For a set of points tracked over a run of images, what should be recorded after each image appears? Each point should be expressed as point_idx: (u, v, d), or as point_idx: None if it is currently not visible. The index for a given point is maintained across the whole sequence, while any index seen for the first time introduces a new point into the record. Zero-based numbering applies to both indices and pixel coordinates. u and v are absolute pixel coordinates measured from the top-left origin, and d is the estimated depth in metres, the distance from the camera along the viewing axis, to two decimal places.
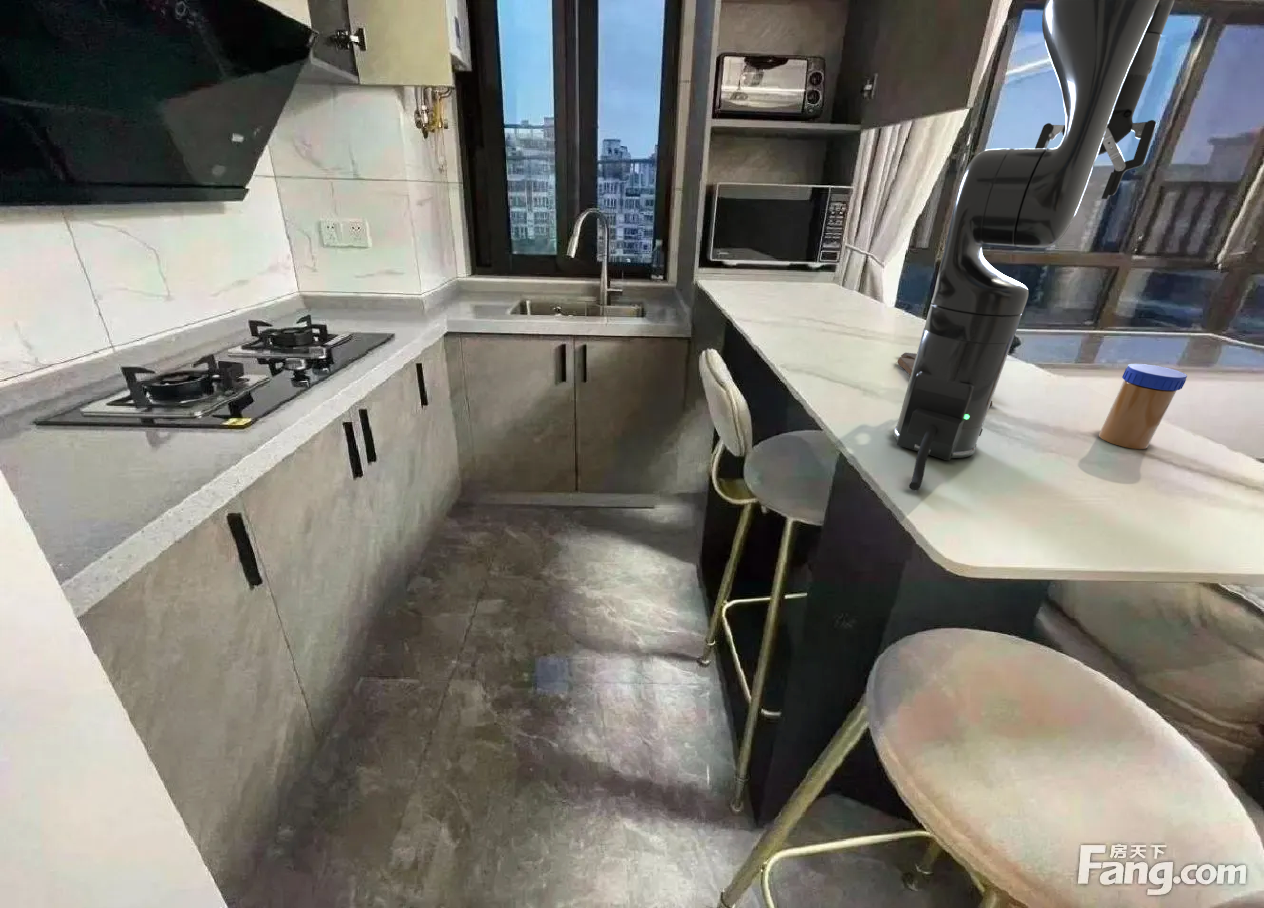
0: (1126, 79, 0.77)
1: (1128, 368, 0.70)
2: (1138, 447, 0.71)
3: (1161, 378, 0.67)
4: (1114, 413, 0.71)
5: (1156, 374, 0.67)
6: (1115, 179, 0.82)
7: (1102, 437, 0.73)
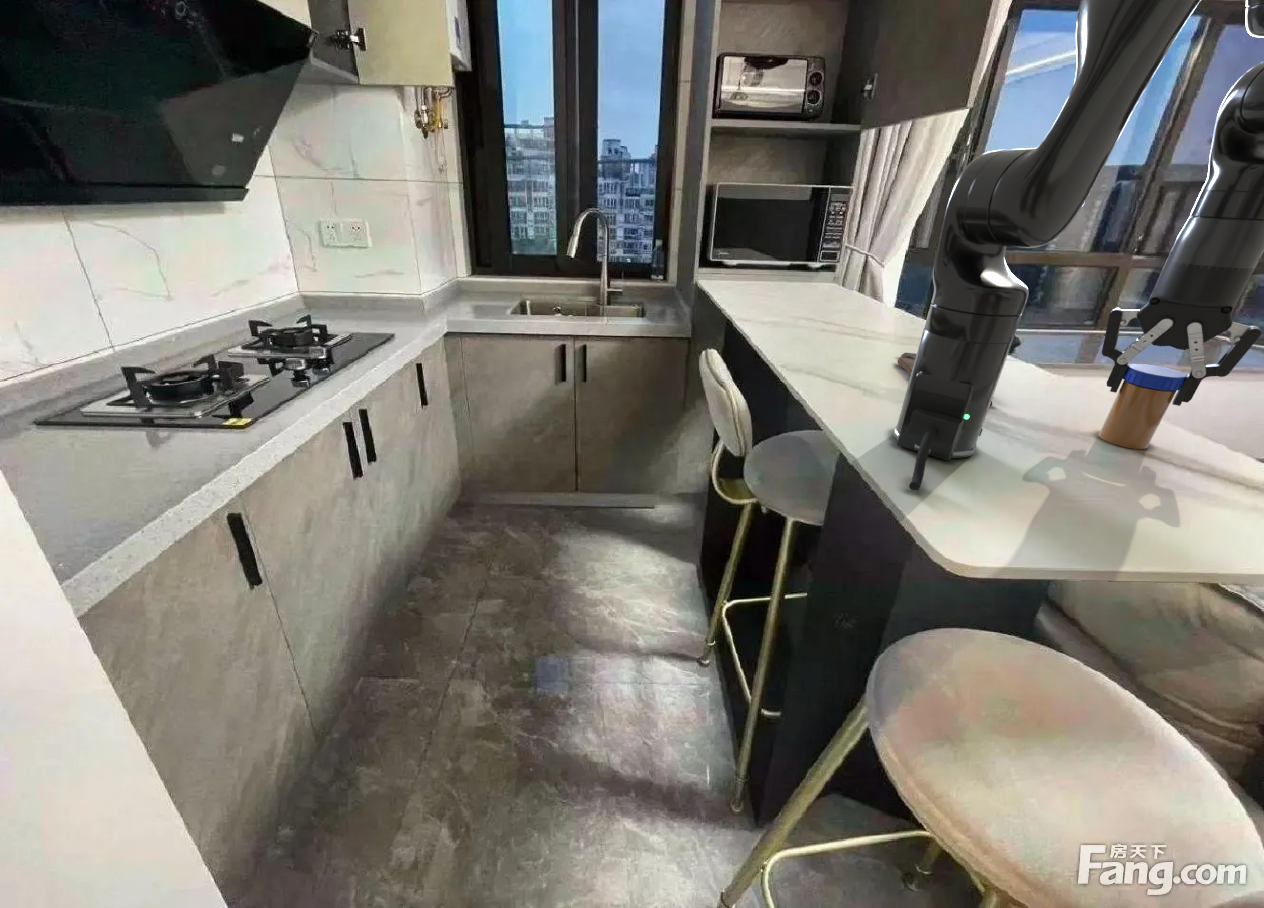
0: (1229, 273, 0.60)
1: (1128, 368, 0.70)
2: (1138, 447, 0.71)
3: (1161, 378, 0.67)
4: (1114, 413, 0.71)
5: (1156, 374, 0.67)
6: (1191, 385, 0.66)
7: (1102, 437, 0.73)
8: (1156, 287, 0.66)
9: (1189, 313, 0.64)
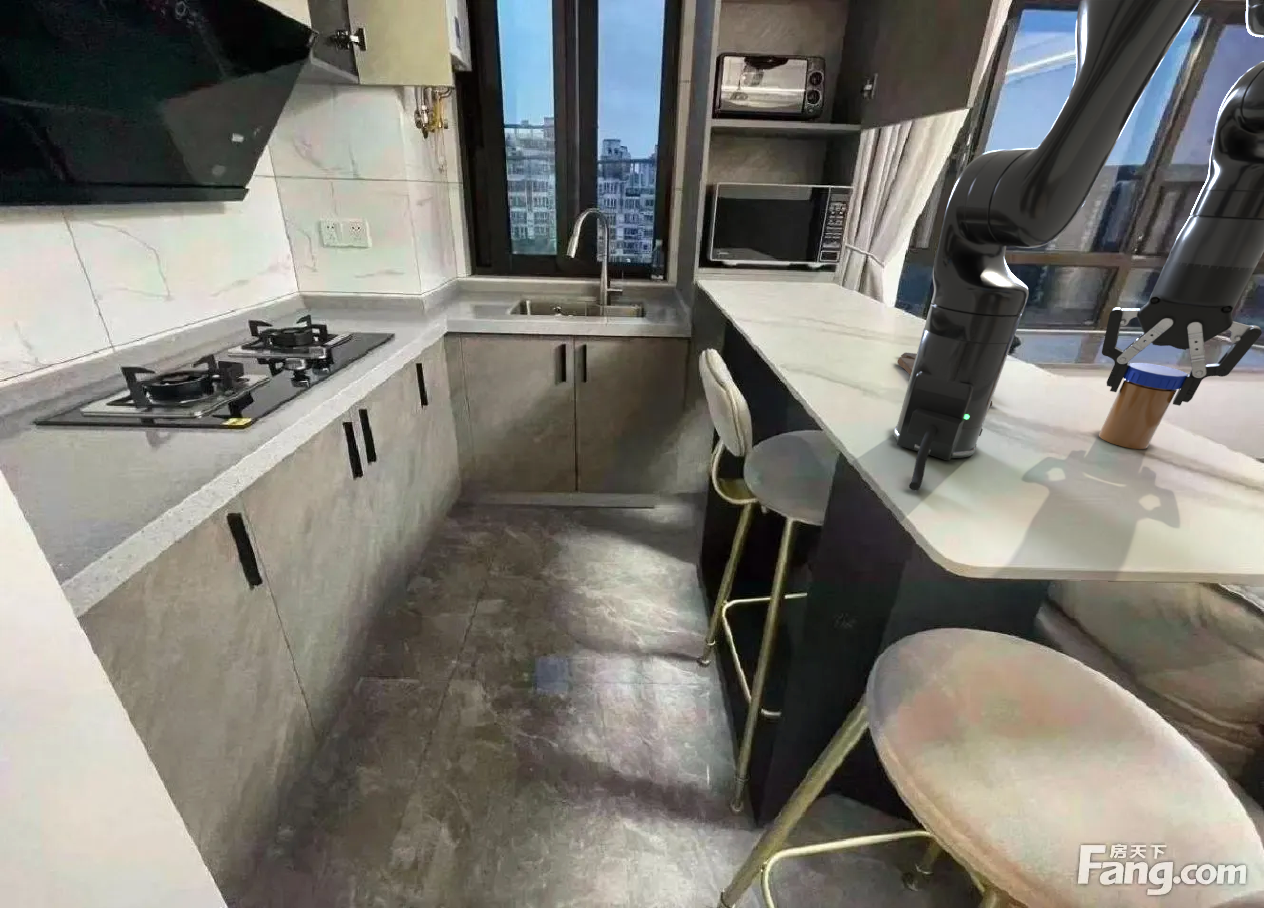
0: (1230, 272, 0.60)
1: (1169, 377, 0.66)
2: (1138, 447, 0.71)
3: None
4: (1114, 413, 0.71)
5: (1183, 373, 0.67)
6: (1192, 385, 0.66)
7: (1102, 437, 0.73)
8: (1156, 286, 0.66)
9: (1189, 313, 0.64)
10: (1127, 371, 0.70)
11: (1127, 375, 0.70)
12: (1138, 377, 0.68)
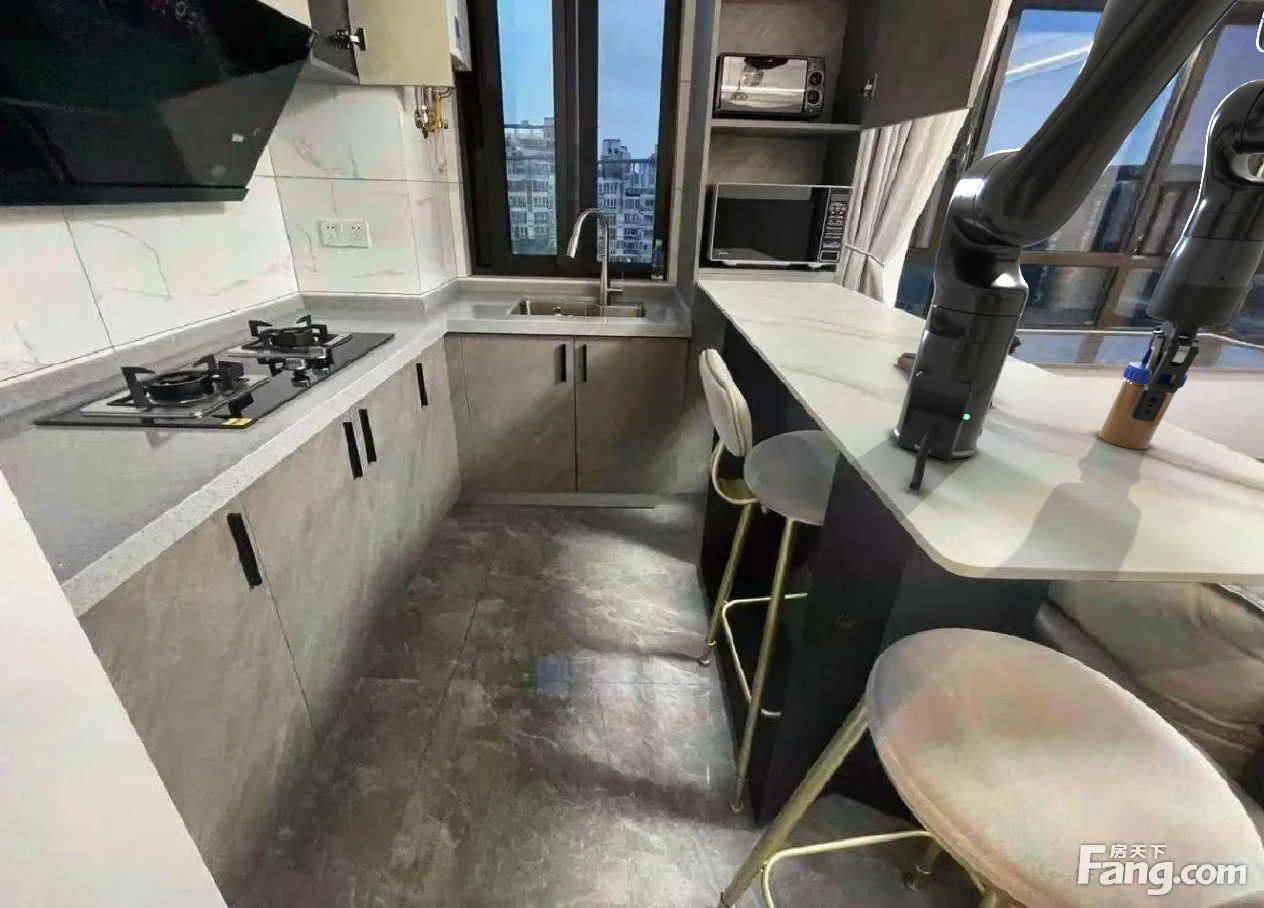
0: None
1: None
2: (1138, 447, 0.71)
3: None
4: (1114, 413, 0.71)
5: None
6: None
7: (1102, 437, 0.73)
8: (1208, 314, 0.62)
9: None
10: None
11: None
12: (1182, 382, 0.67)
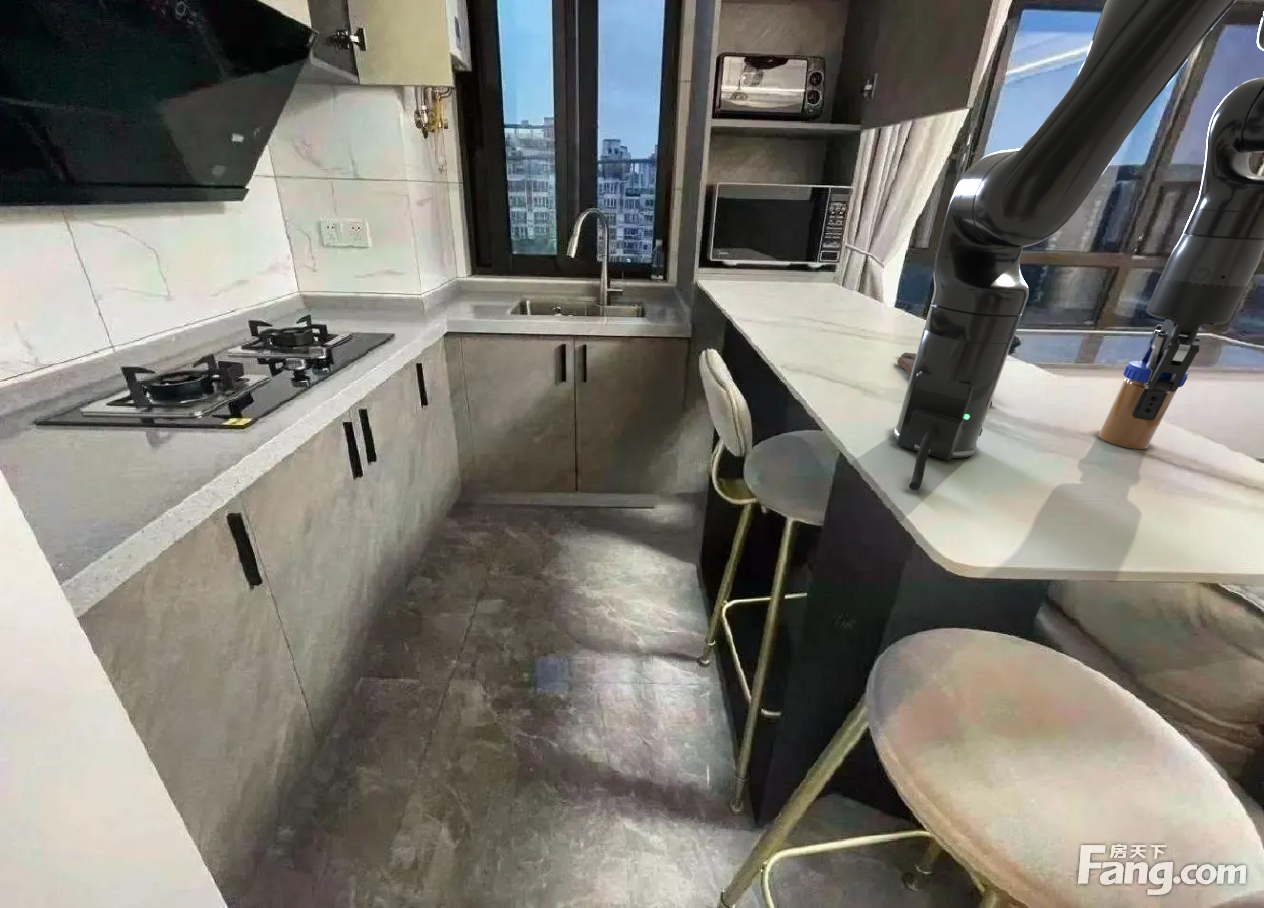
0: None
1: None
2: (1138, 447, 0.71)
3: (1132, 368, 0.69)
4: (1114, 413, 0.71)
5: (1135, 365, 0.69)
6: None
7: (1102, 437, 0.73)
8: (1208, 313, 0.62)
9: None
10: None
11: None
12: None
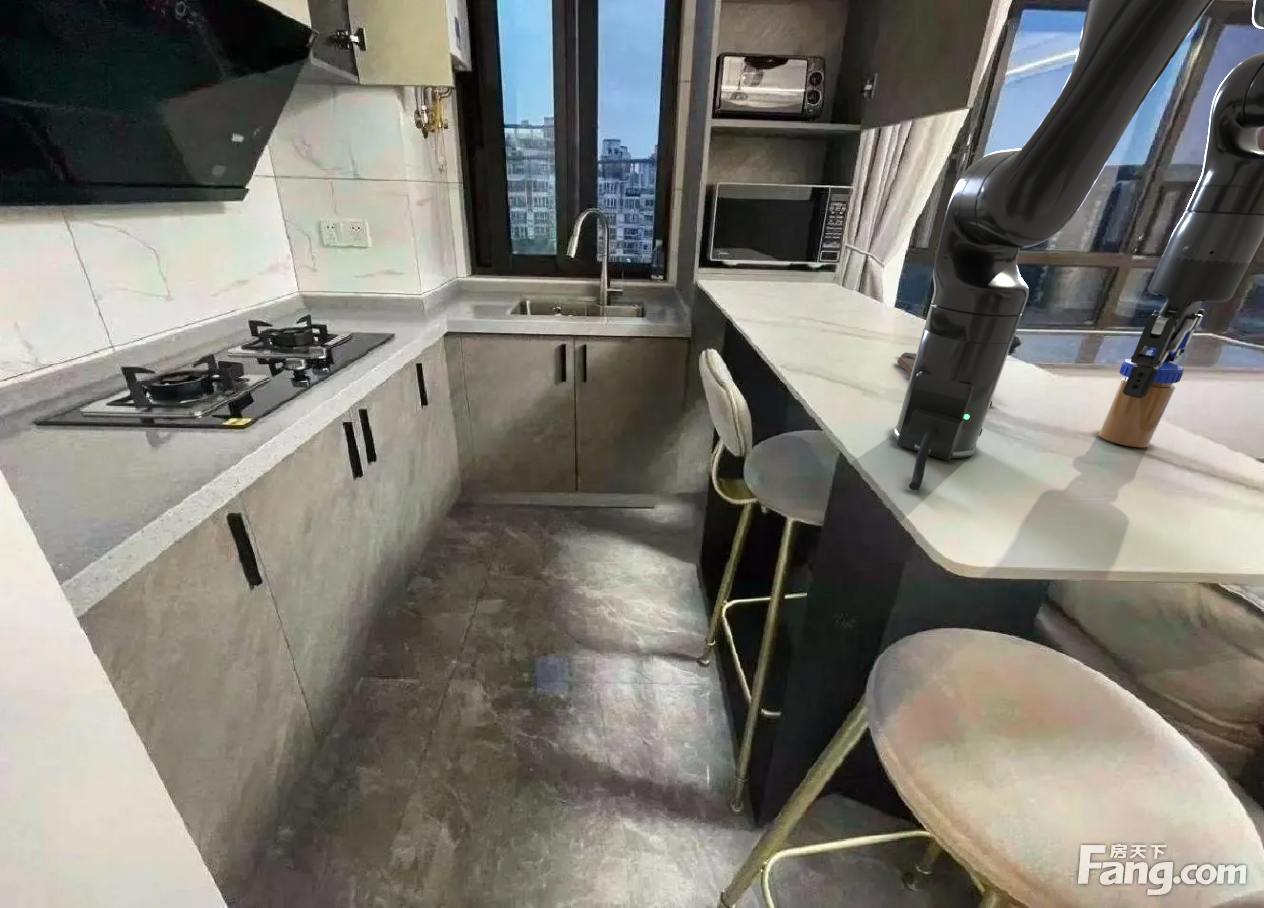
0: None
1: (1127, 364, 0.70)
2: (1139, 445, 0.70)
3: (1165, 372, 0.67)
4: (1114, 412, 0.72)
5: None
6: None
7: (1102, 436, 0.73)
8: (1197, 289, 0.62)
9: (1194, 307, 0.65)
10: None
11: None
12: None
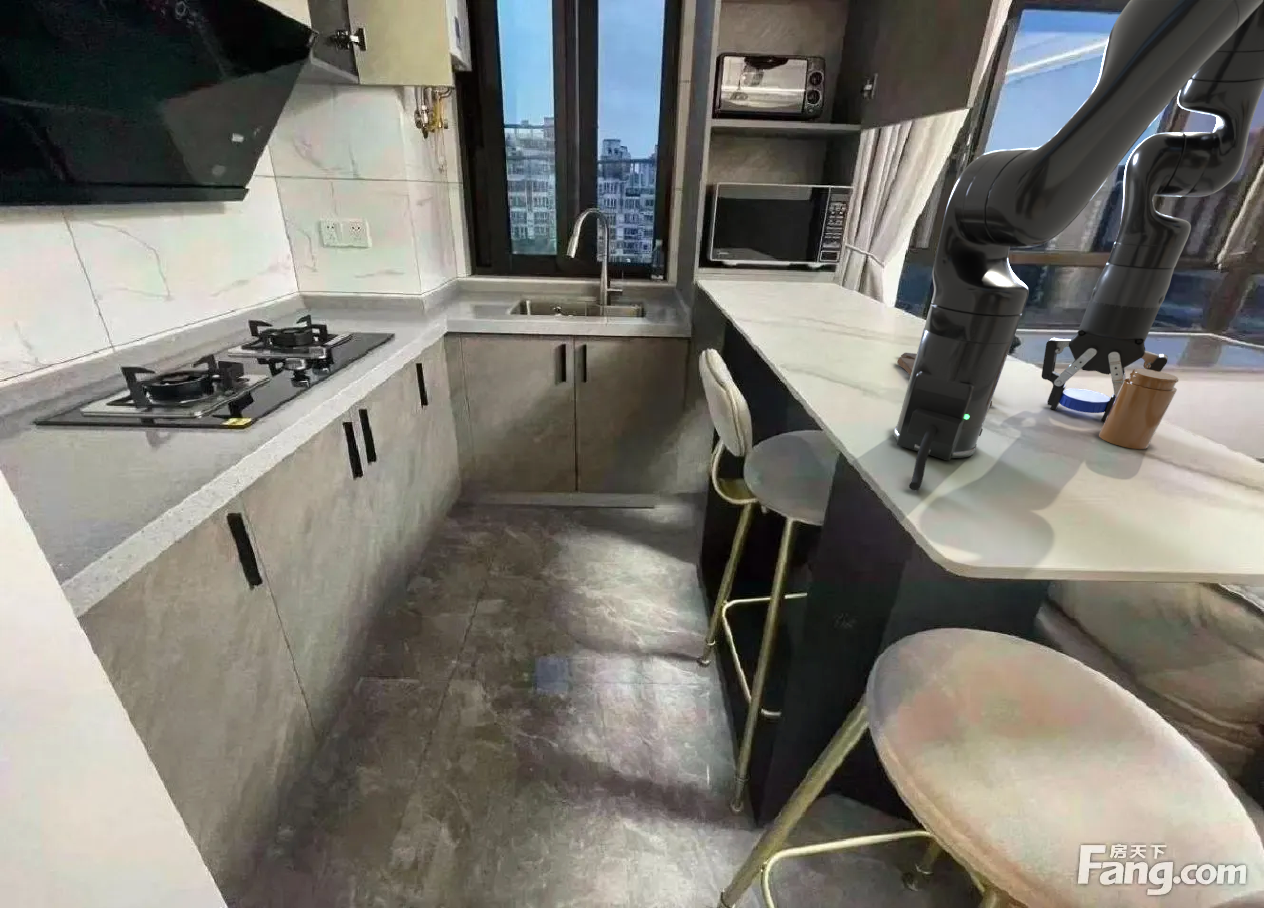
0: None
1: (1100, 403, 0.78)
2: (1138, 447, 0.71)
3: None
4: (1114, 413, 0.71)
5: (1106, 396, 0.80)
6: None
7: (1102, 437, 0.73)
8: None
9: None
10: (1064, 399, 0.81)
11: (1064, 403, 0.81)
12: (1075, 405, 0.80)
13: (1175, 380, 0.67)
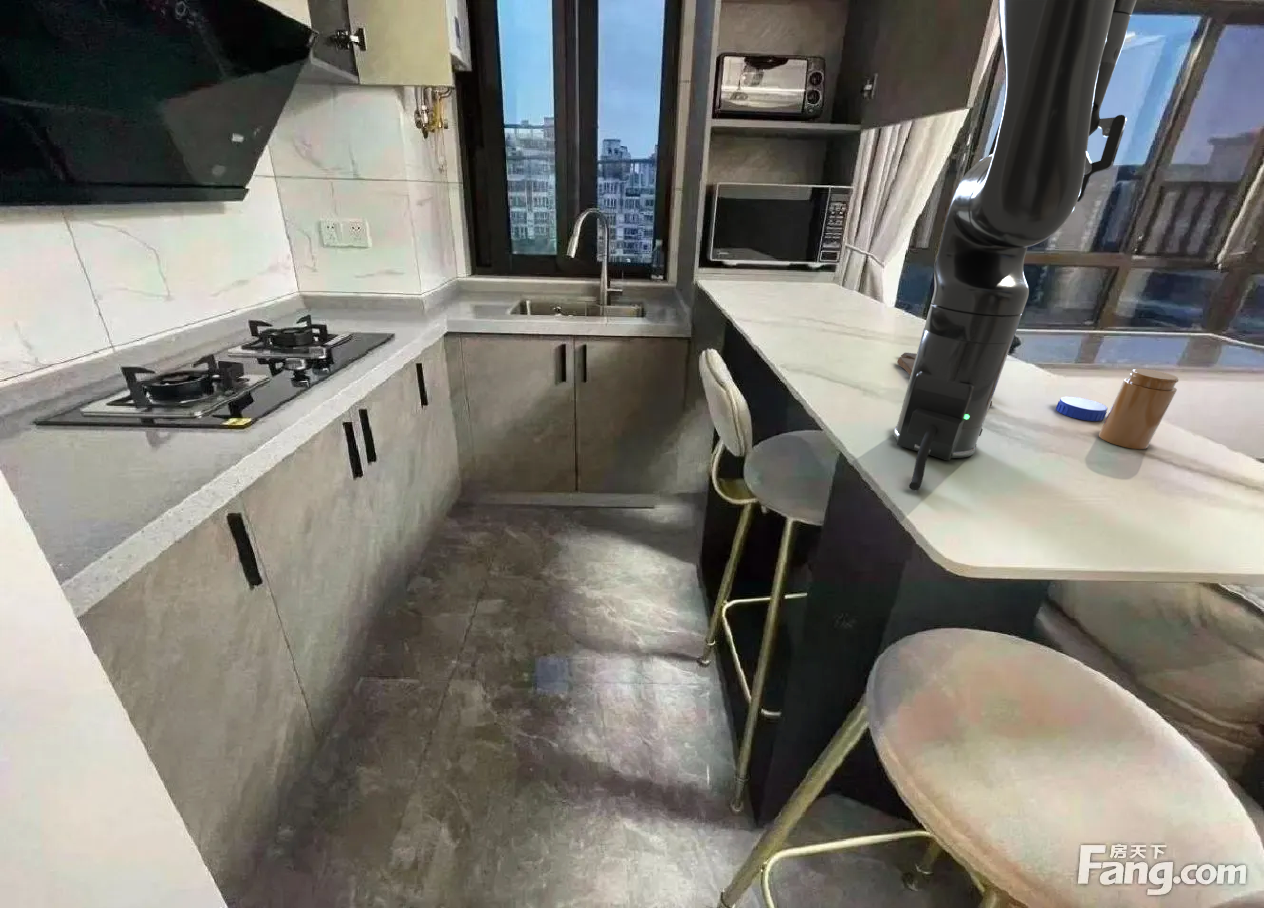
0: None
1: (1097, 411, 0.79)
2: (1138, 447, 0.71)
3: None
4: (1114, 413, 0.71)
5: (1103, 405, 0.80)
6: None
7: (1102, 437, 0.73)
8: None
9: None
10: (1061, 406, 0.82)
11: (1062, 410, 0.81)
12: (1073, 412, 0.80)
13: (1175, 380, 0.67)
